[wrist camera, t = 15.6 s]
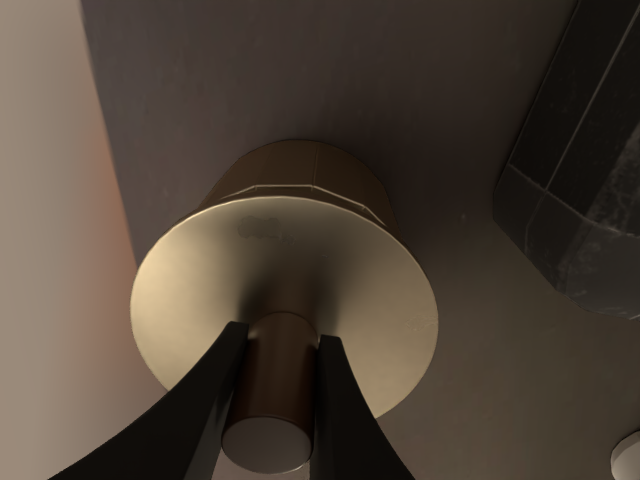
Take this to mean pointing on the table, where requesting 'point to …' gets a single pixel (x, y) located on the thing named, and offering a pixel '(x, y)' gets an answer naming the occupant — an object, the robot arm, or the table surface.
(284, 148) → the tin
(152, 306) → the lid
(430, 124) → the table surface
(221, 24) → the table surface
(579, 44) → the cash box
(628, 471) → the coffee cup
